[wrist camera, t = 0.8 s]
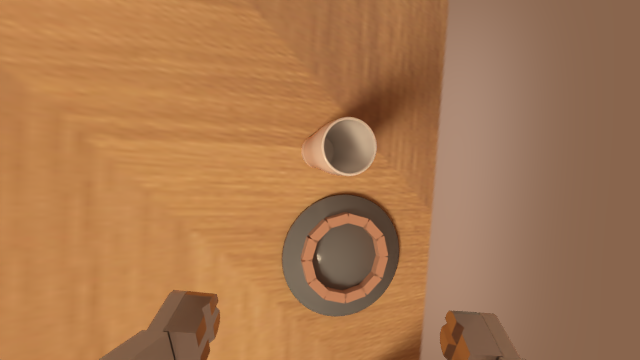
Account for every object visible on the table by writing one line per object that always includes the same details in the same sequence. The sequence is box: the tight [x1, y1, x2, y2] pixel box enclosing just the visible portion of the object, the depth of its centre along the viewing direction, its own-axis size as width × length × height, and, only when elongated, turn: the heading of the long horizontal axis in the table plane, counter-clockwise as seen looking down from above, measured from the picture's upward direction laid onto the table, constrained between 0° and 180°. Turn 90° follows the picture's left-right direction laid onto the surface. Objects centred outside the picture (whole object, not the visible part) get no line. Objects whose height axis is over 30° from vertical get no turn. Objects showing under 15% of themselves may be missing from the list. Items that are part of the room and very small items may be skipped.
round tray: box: [282, 195, 399, 316], centre depth 49 cm, size 20×20×2 cm
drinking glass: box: [301, 117, 377, 176], centre depth 41 cm, size 7×7×15 cm
